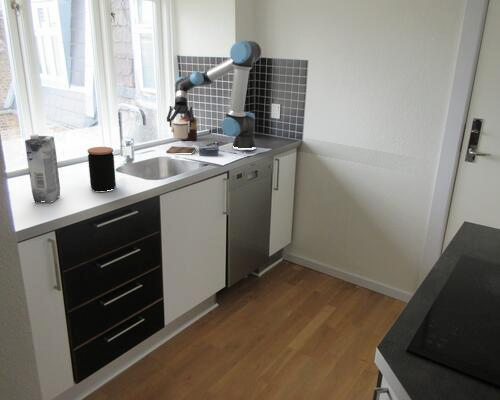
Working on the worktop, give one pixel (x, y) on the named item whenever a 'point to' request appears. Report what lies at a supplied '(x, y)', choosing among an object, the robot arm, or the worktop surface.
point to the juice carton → (43, 168)
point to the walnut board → (181, 149)
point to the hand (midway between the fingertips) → (180, 131)
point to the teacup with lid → (180, 129)
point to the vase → (191, 128)
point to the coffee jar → (101, 168)
